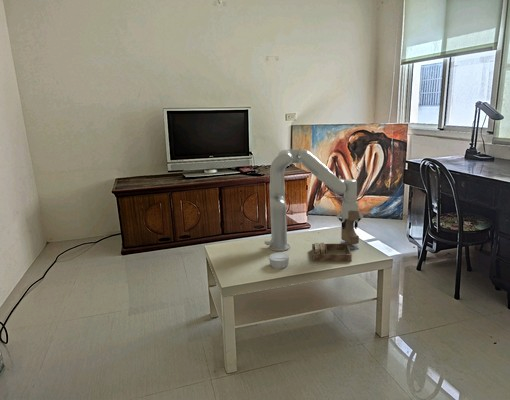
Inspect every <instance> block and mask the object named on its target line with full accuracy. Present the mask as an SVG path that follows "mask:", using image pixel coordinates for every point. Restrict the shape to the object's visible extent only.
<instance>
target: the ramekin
mask: <svg viewBox="0 0 510 400" xmlns="http://www.w3.org/2000/svg"><path fill="white" fill-rule="evenodd" d="M268 256H269V257H268V260H269V263H270V264H269V266H271V268H273V269H278V270H281V269H286V268H287V267H288V265H289V261H290V255H288V254H287V253H284V252H275V253H271V254H270V255H268Z"/></svg>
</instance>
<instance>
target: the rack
mask: <svg viewBox="0 0 510 400" xmlns="http://www.w3.org/2000/svg"><path fill="white" fill-rule="evenodd" d="M324 245H325V254H315V243H311V252H312V261H313V262H352V259H353V258H352V257H353V255H352V251H351V249H349V246H348V244H341V243H324ZM319 247H320V243H319ZM328 251H346V253H329V252H328Z"/></svg>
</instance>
